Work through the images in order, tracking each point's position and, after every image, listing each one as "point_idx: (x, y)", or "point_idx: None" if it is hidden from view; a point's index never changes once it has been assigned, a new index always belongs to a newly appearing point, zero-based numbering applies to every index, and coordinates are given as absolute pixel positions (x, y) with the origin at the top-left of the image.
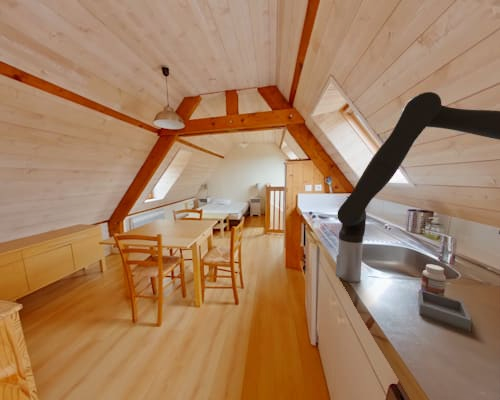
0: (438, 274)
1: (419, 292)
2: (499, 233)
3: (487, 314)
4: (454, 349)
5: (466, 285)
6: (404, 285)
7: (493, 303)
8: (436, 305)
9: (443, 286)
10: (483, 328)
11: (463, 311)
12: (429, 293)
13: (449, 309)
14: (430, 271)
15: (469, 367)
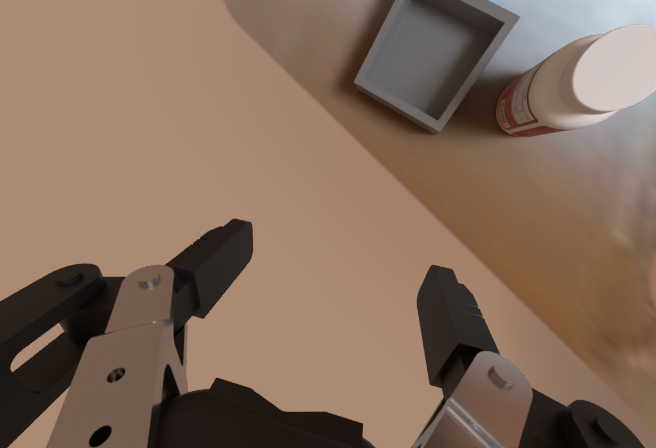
0: (560, 79)
1: (495, 5)
2: (616, 424)
3: (430, 194)
4: (301, 9)
5: (595, 282)
6: None
7: (482, 258)
8: (452, 66)
9: (517, 111)
10: (375, 134)
11: (395, 96)
12: (489, 46)
13: (434, 95)
14: (590, 42)
15: (265, 8)
